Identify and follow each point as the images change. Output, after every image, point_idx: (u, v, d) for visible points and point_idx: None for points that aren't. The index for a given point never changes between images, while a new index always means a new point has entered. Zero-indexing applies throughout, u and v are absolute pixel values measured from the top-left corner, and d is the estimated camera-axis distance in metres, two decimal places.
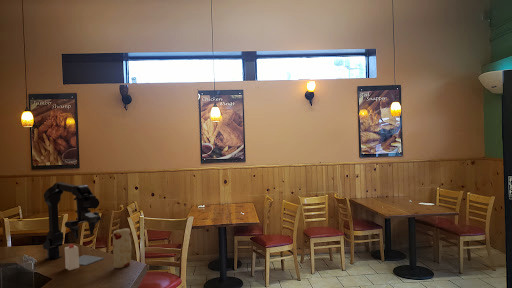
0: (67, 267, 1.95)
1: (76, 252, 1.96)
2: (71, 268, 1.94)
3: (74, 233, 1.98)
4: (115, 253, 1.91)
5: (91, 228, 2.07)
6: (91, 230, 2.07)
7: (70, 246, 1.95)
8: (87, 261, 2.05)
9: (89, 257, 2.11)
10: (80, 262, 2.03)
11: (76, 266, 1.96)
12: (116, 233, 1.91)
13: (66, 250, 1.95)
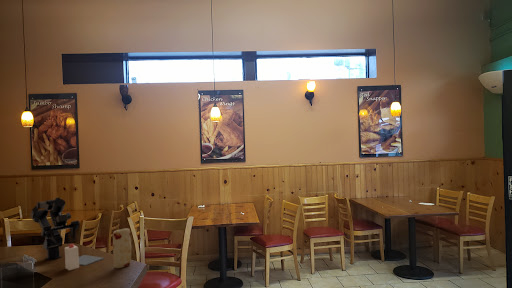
0: (67, 267, 1.95)
1: (76, 252, 1.96)
2: (71, 268, 1.94)
3: (52, 238, 1.99)
4: (115, 253, 1.91)
5: (72, 233, 2.07)
6: (73, 235, 2.06)
7: (70, 246, 1.95)
8: (87, 261, 2.05)
9: (89, 257, 2.11)
10: (80, 262, 2.03)
11: (76, 266, 1.96)
12: (116, 233, 1.91)
13: (66, 250, 1.95)
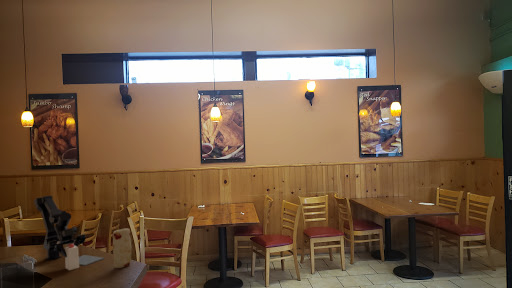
0: (67, 267, 1.95)
1: (76, 252, 1.96)
2: (71, 268, 1.94)
3: (62, 252, 1.95)
4: (115, 253, 1.91)
5: None
6: None
7: (70, 246, 1.95)
8: (87, 261, 2.05)
9: (89, 257, 2.11)
10: (80, 262, 2.03)
11: (76, 266, 1.96)
12: (116, 233, 1.91)
13: (66, 250, 1.95)
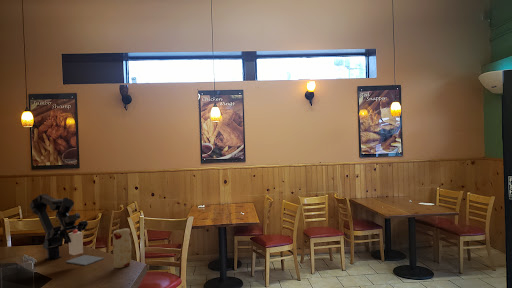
0: (71, 252, 1.98)
1: (80, 237, 1.99)
2: (75, 253, 1.97)
3: (66, 238, 1.98)
4: (115, 253, 1.91)
5: None
6: None
7: (74, 231, 1.98)
8: (87, 261, 2.05)
9: (89, 257, 2.11)
10: (80, 262, 2.03)
11: (80, 251, 1.99)
12: (116, 233, 1.91)
13: (70, 235, 1.98)
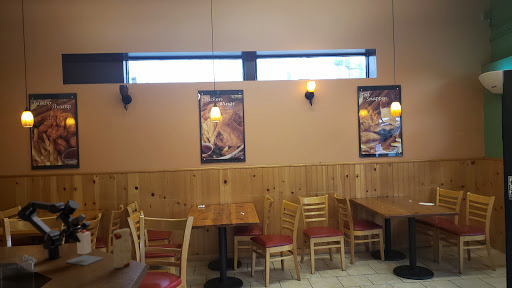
0: (81, 252, 2.06)
1: (89, 237, 2.09)
2: (86, 252, 2.06)
3: (74, 238, 2.05)
4: (115, 253, 1.91)
5: None
6: None
7: (83, 232, 2.07)
8: (87, 261, 2.05)
9: (89, 257, 2.11)
10: (80, 262, 2.03)
11: (89, 250, 2.08)
12: (116, 233, 1.91)
13: (80, 236, 2.06)
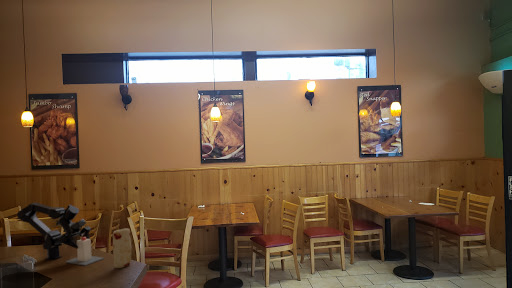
0: (81, 259, 2.06)
1: (89, 244, 2.09)
2: (86, 259, 2.06)
3: (72, 244, 2.03)
4: (115, 253, 1.91)
5: (86, 238, 2.13)
6: None
7: (83, 239, 2.07)
8: (87, 261, 2.05)
9: None
10: (80, 262, 2.03)
11: (89, 257, 2.08)
12: (116, 233, 1.91)
13: (80, 243, 2.06)
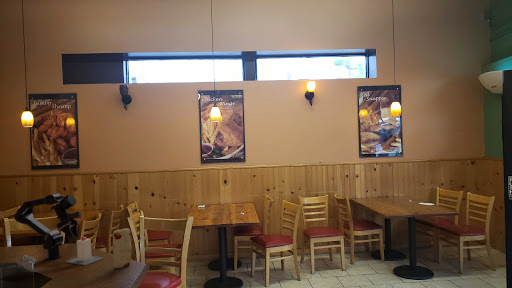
0: (81, 259, 2.06)
1: (89, 244, 2.09)
2: (86, 259, 2.06)
3: (68, 232, 2.07)
4: (115, 253, 1.91)
5: (75, 231, 2.17)
6: (75, 233, 2.17)
7: (83, 239, 2.07)
8: (87, 261, 2.05)
9: None
10: (80, 262, 2.03)
11: (89, 257, 2.08)
12: (116, 233, 1.91)
13: (80, 243, 2.06)
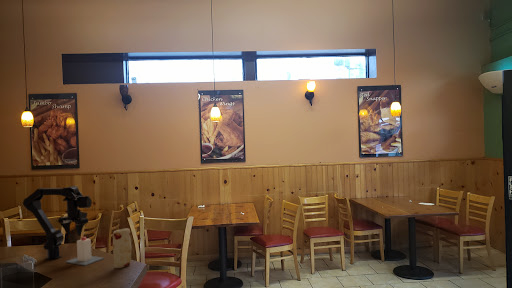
0: (81, 259, 2.06)
1: (89, 244, 2.09)
2: (86, 259, 2.06)
3: (79, 230, 2.12)
4: (115, 253, 1.91)
5: (68, 228, 2.17)
6: (68, 230, 2.17)
7: (83, 239, 2.07)
8: (87, 261, 2.05)
9: None
10: (80, 262, 2.03)
11: (89, 257, 2.08)
12: (116, 233, 1.91)
13: (80, 243, 2.06)
